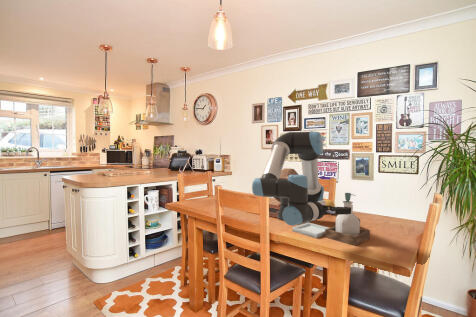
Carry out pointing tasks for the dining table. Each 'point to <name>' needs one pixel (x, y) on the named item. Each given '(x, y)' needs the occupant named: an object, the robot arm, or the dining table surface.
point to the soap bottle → (348, 220)
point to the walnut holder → (347, 236)
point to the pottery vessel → (286, 177)
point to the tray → (310, 230)
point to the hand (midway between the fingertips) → (337, 205)
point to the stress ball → (329, 203)
